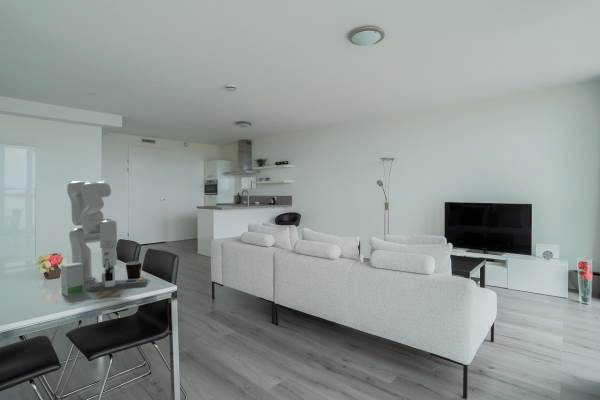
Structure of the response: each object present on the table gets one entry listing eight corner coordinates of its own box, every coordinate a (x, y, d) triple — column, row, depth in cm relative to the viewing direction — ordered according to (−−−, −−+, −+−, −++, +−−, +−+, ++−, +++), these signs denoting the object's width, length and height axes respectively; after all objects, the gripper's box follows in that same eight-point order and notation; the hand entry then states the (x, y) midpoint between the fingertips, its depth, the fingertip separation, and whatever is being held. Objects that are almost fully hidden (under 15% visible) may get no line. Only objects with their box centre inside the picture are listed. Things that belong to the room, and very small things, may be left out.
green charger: (102, 289, 172) (101, 274, 172) (103, 287, 175) (103, 272, 175) (110, 288, 173) (110, 273, 173) (111, 286, 177) (111, 272, 176)
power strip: (90, 292, 168) (89, 285, 168) (94, 287, 176) (94, 281, 176) (144, 286, 177) (144, 280, 177) (146, 282, 184) (145, 276, 184)
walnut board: (95, 299, 157) (94, 298, 157) (100, 292, 168) (100, 291, 168) (120, 296, 161) (120, 295, 161) (124, 290, 171) (124, 289, 171)
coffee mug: (135, 281, 187) (134, 265, 187) (122, 281, 189) (122, 264, 188) (148, 276, 198) (148, 260, 198) (136, 275, 200) (136, 260, 200)
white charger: (105, 286, 162) (104, 271, 162) (106, 285, 165) (106, 269, 165) (113, 285, 163) (113, 270, 163) (115, 284, 166) (114, 269, 166)
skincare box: (66, 297, 161) (65, 266, 161) (60, 294, 165) (59, 265, 164) (84, 292, 168) (83, 263, 168) (78, 290, 172) (77, 261, 171)
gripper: (113, 246, 157) (114, 283, 157) (120, 241, 172) (121, 275, 173) (95, 247, 154) (97, 284, 155) (104, 242, 170) (105, 276, 170)
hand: (109, 279), depth 164 cm, fingers closed on white charger, 3 cm apart
